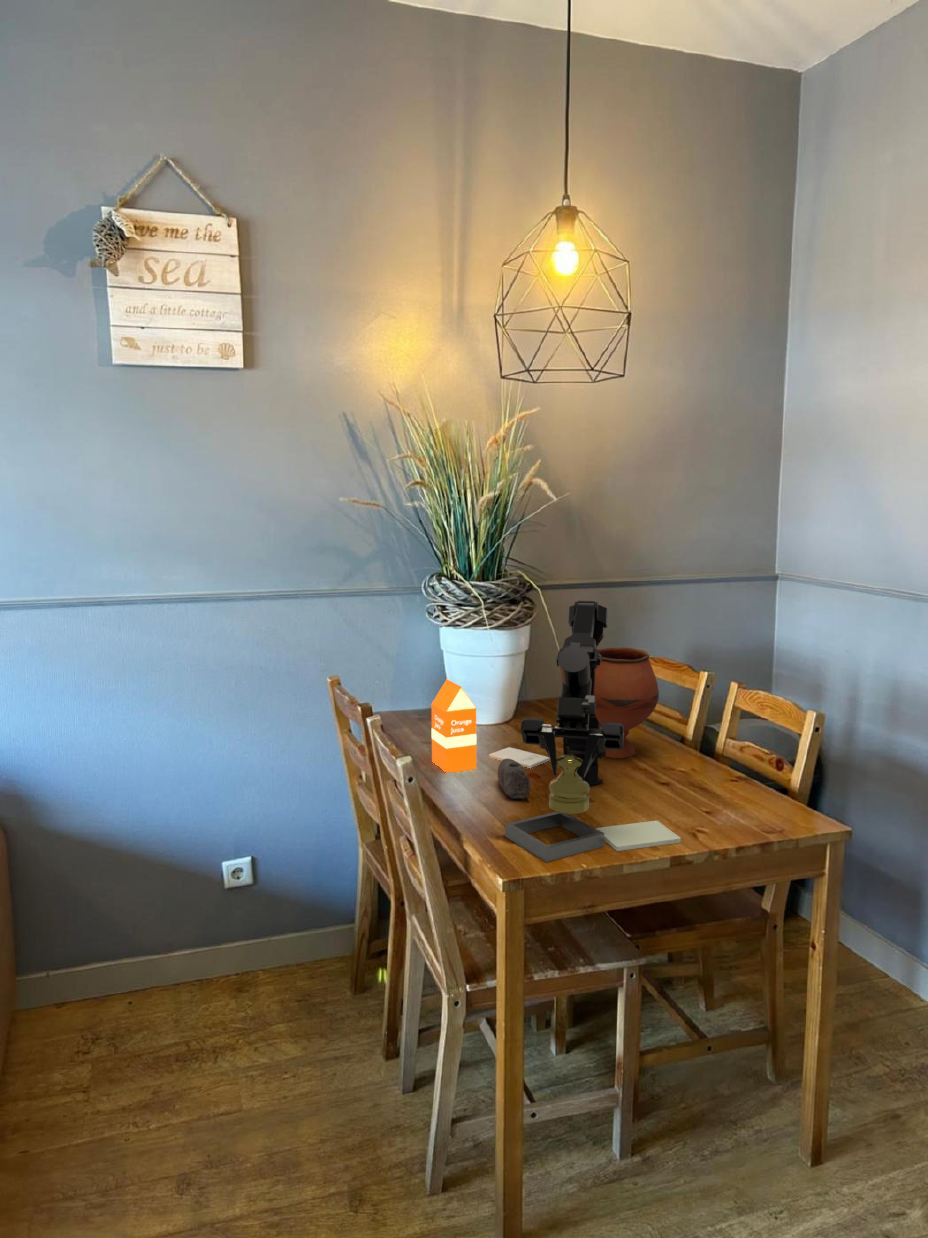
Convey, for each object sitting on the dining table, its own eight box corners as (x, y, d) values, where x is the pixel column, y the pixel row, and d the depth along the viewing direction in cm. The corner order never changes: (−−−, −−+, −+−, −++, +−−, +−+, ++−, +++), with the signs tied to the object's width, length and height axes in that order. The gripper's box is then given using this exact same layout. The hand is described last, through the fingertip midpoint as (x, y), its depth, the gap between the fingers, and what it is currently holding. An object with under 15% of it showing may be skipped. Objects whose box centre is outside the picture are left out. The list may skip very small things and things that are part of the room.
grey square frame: (505, 836, 165) (505, 824, 165) (560, 822, 172) (561, 810, 171) (546, 862, 154) (546, 848, 154) (604, 846, 161) (604, 833, 160)
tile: (616, 851, 158) (617, 847, 158) (595, 832, 167) (595, 828, 167) (681, 842, 162) (681, 838, 162) (656, 824, 171) (656, 820, 171)
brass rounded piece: (586, 800, 165) (587, 748, 164) (591, 815, 158) (592, 761, 156) (547, 799, 165) (547, 748, 164) (550, 815, 158) (550, 761, 156)
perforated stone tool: (492, 780, 196) (492, 750, 195) (515, 779, 197) (515, 749, 196) (507, 805, 181) (507, 772, 180) (532, 803, 182) (532, 771, 181)
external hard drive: (509, 753, 218) (551, 763, 210) (488, 760, 212) (530, 771, 204) (509, 746, 218) (551, 756, 209) (488, 754, 211) (530, 764, 203)
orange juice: (445, 774, 200) (445, 688, 197) (431, 763, 208) (430, 680, 205) (477, 769, 203) (477, 684, 200) (461, 758, 211) (461, 677, 208)
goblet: (575, 763, 208) (576, 659, 204) (579, 739, 226) (581, 644, 222) (658, 767, 204) (661, 662, 200) (655, 743, 223) (658, 646, 219)
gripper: (522, 676, 164) (512, 751, 155) (624, 680, 160) (620, 758, 151) (528, 706, 172) (519, 779, 164) (625, 711, 169) (621, 786, 160)
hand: (568, 775), depth 159 cm, fingers closed on brass rounded piece, 5 cm apart
